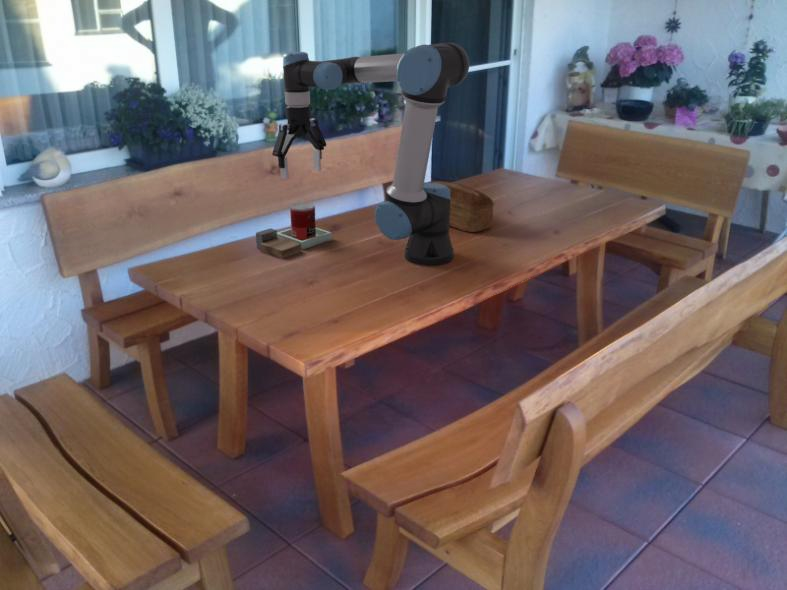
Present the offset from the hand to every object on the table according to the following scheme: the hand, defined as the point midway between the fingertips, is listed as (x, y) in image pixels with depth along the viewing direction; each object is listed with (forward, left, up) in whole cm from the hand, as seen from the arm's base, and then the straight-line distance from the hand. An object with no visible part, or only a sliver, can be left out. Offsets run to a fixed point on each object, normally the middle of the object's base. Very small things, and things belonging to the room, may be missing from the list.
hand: (301, 174), depth 237 cm
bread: (-24, -48, -23) cm, 58 cm away
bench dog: (+4, +12, -22) cm, 26 cm away
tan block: (-3, +12, -23) cm, 26 cm away
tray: (0, 0, -22) cm, 22 cm away
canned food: (0, 0, -22) cm, 22 cm away
